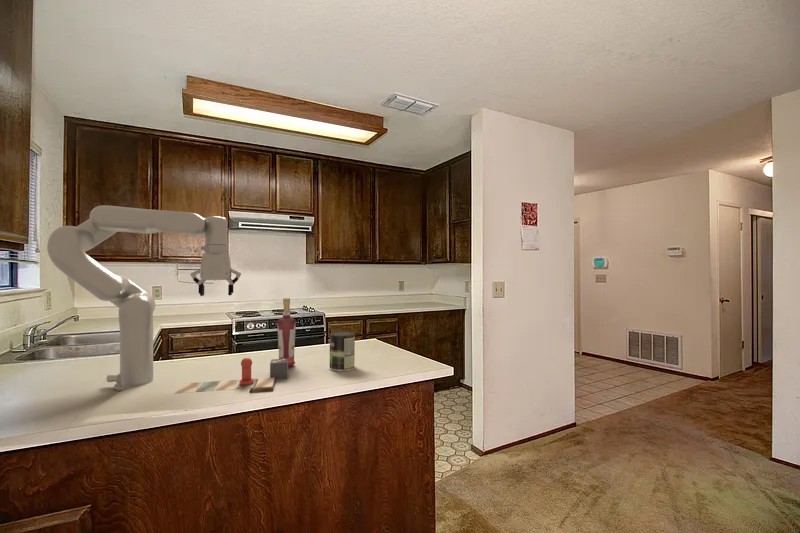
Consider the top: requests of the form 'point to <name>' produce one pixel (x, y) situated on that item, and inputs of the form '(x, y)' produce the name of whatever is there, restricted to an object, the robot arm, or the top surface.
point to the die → (279, 368)
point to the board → (229, 386)
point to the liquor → (286, 334)
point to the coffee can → (342, 351)
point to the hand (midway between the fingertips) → (216, 295)
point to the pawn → (246, 372)
